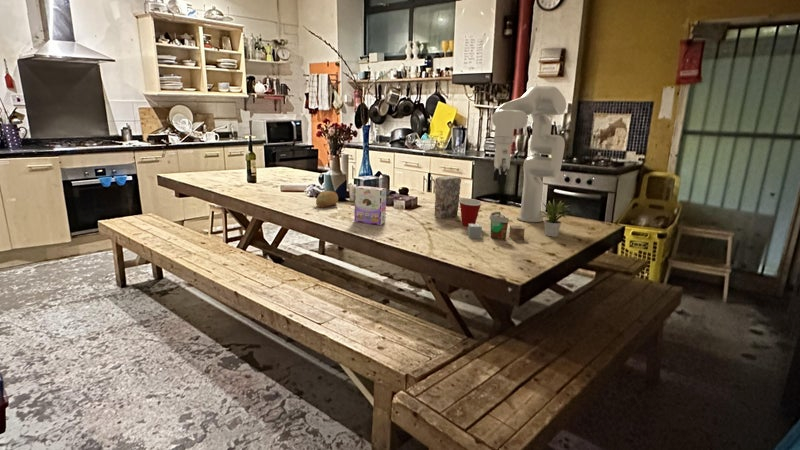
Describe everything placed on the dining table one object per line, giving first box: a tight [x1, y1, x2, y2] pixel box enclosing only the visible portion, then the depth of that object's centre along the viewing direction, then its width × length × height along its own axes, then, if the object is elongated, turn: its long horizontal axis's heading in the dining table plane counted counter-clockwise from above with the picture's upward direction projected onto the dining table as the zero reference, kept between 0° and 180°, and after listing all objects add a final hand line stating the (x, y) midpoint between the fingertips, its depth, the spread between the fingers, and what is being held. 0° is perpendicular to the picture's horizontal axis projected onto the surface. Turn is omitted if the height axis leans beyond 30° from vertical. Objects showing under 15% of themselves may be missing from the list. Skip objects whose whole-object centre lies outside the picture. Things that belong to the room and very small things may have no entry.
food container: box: [489, 211, 510, 242], centre depth 195 cm, size 12×6×10 cm, turn 5°
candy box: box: [353, 185, 387, 226], centre depth 211 cm, size 14×6×16 cm, turn 65°
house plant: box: [540, 198, 573, 238], centre depth 200 cm, size 14×14×16 cm
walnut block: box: [508, 224, 526, 241], centre depth 195 cm, size 5×5×5 cm
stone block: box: [434, 175, 462, 220], centre depth 228 cm, size 13×7×20 cm, turn 137°
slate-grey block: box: [467, 223, 483, 239], centre depth 195 cm, size 5×5×5 cm
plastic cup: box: [459, 197, 483, 228], centre depth 212 cm, size 11×11×12 cm
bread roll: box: [315, 190, 339, 208], centre depth 244 cm, size 10×15×8 cm, turn 155°
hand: (499, 182), depth 191 cm, fingers open, 9 cm apart
